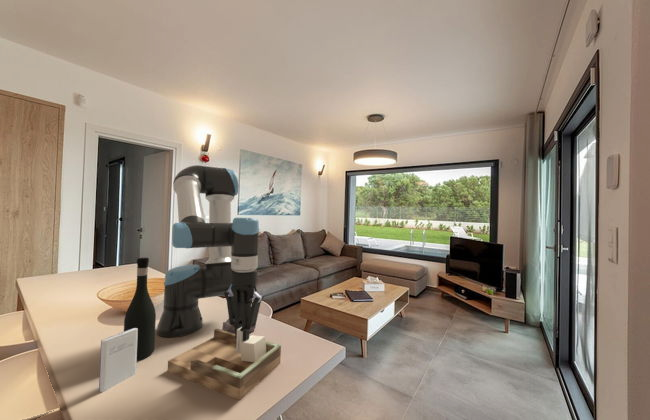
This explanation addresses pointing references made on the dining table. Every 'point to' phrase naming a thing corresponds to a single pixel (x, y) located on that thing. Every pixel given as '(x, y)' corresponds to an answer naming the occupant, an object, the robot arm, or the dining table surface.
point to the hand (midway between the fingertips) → (241, 350)
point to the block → (253, 348)
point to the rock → (232, 327)
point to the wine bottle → (142, 313)
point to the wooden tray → (224, 365)
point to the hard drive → (118, 358)
